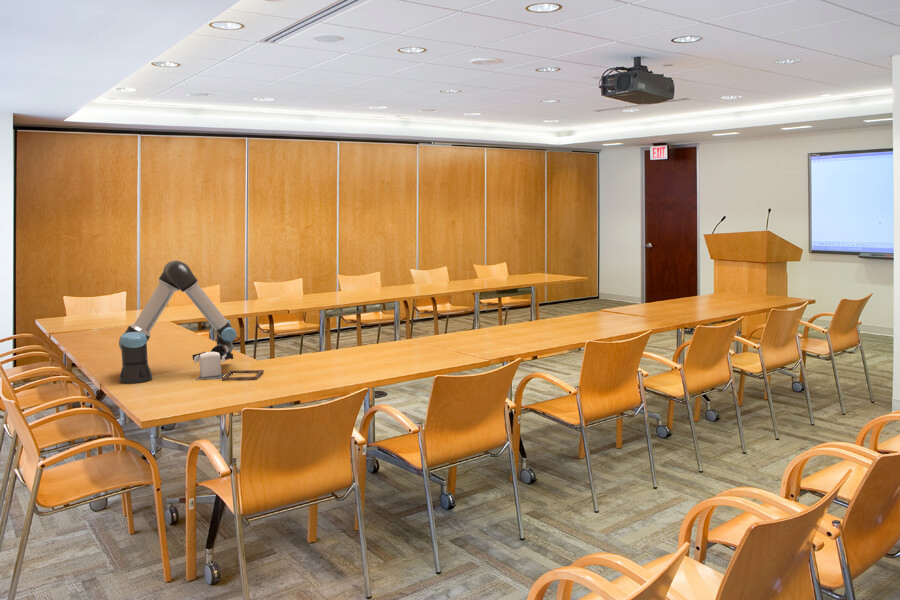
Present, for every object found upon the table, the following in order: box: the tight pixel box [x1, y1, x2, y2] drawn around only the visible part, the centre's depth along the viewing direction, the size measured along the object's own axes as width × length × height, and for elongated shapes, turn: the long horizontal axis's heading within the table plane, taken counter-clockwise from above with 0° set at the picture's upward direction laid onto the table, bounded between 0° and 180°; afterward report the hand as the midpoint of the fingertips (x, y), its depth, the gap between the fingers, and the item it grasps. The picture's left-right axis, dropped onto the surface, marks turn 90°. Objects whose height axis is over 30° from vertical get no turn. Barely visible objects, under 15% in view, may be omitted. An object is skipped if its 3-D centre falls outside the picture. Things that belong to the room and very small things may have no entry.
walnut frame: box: [221, 369, 265, 381], centre depth 370 cm, size 17×17×2 cm
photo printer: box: [198, 351, 222, 378], centre depth 369 cm, size 10×4×12 cm, turn 115°
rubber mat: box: [195, 373, 226, 381], centre depth 369 cm, size 12×12×1 cm
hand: (208, 359), depth 365 cm, fingers open, 13 cm apart
